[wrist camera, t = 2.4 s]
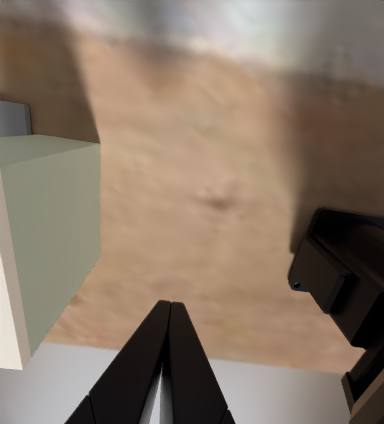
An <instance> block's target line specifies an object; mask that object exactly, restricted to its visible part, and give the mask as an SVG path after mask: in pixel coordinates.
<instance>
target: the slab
mask: <svg viewBox="0 0 384 424" xmlns="http://www.w3.org/2000/svg"><path fill="white" fill-rule="evenodd" d="M99 258H100V144H99V143H93V142H86V141H80V140H74V139H67V138H61V137H54V136H48V135H42V134H37V135H23V136H10V137H0V368H8V369H18V370H23V369H24V367H25V366H26V365H27V363H28V361H29V360H30V359H31V357H32V356H33V354H34V353H35V351H36V350H37V348H38V347H39V346H40V344H41V343H42V341H43V340H44V338H45V337H46V335H47V334H48V332H49V331H50V330H51V328H52V327H53V325H54V324H55V322H56V321H57V319H58V318H59V316H60V315H61V314H62V312H63V311H64V309H65V308H66V306H67V305H68V303H69V302H70V300H71V299H72V298H73V296H74V295H75V293H76V292H77V290H78V289H79V287H80V286H81V284H82V283H83V282H84V280H85V279H86V277H87V276H88V274H89V273H90V271H91V270H92V268H93V267H94V266H95V264H96V263H97V261H98V260H99Z"/></svg>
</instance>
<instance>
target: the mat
mask: <svg viewBox="0 0 384 424" xmlns="http://www.w3.org/2000/svg"><path fill="white" fill-rule="evenodd" d="M23 135H32V131H31V122H30V112H29V105H26V104H20V103H14V102H8V101H2V100H0V137H10V136H23Z"/></svg>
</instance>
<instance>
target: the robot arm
mask: <svg viewBox="0 0 384 424" xmlns="http://www.w3.org/2000/svg"><path fill="white" fill-rule="evenodd" d="M324 213H326V215H325V217H323V218H321V216H322V215H323V214H324ZM297 282H298V283H297ZM288 283H289V286H290V287H291V289H292V290H295V291H302V292H310V294H311V295H312V297H313V298H314V300H315V301H316V303H317V304H318V305H319V307H320V308H321V310H322V311H323V313H325V314H329V315H330V316H331V318H332V319H333V320H334V322H335V323H336V325H337V326H338V327H339V329H340V330H341V332H342V333H343V334H344V336H345V337H346V339H347V340H348V341H349V343H350V344H351V346H353V347H360V348H364V350H365V352H364V353H363V355H362V356H361V357H360V359H359V360H358V361H357V363H356V364H355V365H354V367H353V368H352V369H351V371H350V372H346V373H345V375H344V376H343V377H342V379H341V382H342V385H343V389H344V392H345V396H346V400H347V404H348V407H349V411H350V414H351V416H350V420H349V424H384V216H379V215H372V214H366V213H359V212H352V211H346V210H339V209H332V208H326V207H322V208H319V209H318V210H317V211H316V212H315V214H314V216H313V219H312V222H311V224H310V227H309V229H308V232H307V234H306V237H305V238H304V239H303V241H302V244H301V247H300V249H299V252H298V254H297V257H296V260H295V262H294V265H293V271H292V273H291V276H290V278H289V281H288ZM295 283H297V284H295ZM162 364H163V365H162ZM161 370H162V373H161ZM160 376H161V395H160V424H235V421H234V419H233V417H232V414H231V412H230V410H227V409H228V406H227V403H226V401H225V399H224V396H223V394H222V391H221V389H220V387H219V384H218V382H217V380H216V377H215V375H214V373H213V370H212V368H211V366H210V364H209V361H208V359H207V356H206V354H205V352H204V349H203V347H202V345H201V342H200V340H199V338H198V335H197V333H196V331H195V328H194V326H193V324H192V321H191V319H190V317H189V314H188V312H187V310H186V307H185V305H184V303H182V302H174V301H173V302H172V303H171V302H170V301H166V300H159V301H158V302H157V303H156V305H155V306H154V307H153V309H152V310H151V311H150V313H149V314H148V315H147V316H146V318H145V319H144V320H143V322H142V323H141V324H140V326H139V327H138V328H137V330H136V331H135V332H134V334H133V335H132V336H131V337H130V339H129V340H128V341H127V343H126V344H125V345H124V347H123V348H122V349H121V351H120V352H119V353H118V355H117V356H116V357H115V359H114V360H113V361H112V362H111V364H110V365H109V366H108V368H107V369H106V370H105V372H104V373H103V374H102V376H101V377H100V378H99V380H98V381H97V382H96V384H95V385H94V386H93V388H92V389H91V390H90V391H89V395H86V396H85V398H84V399H83V400H82V402H81V403H80V404H79V406H78V407H77V408H76V409H75V411H74V412H73V413H72V415H71V416H70V417H69V418H68V420H67V421H66V422H65V423H64V424H149V422H150V417H151V413H152V409H153V405H154V401H155V397H156V393H157V389H158V385H159V380H160Z"/></svg>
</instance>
